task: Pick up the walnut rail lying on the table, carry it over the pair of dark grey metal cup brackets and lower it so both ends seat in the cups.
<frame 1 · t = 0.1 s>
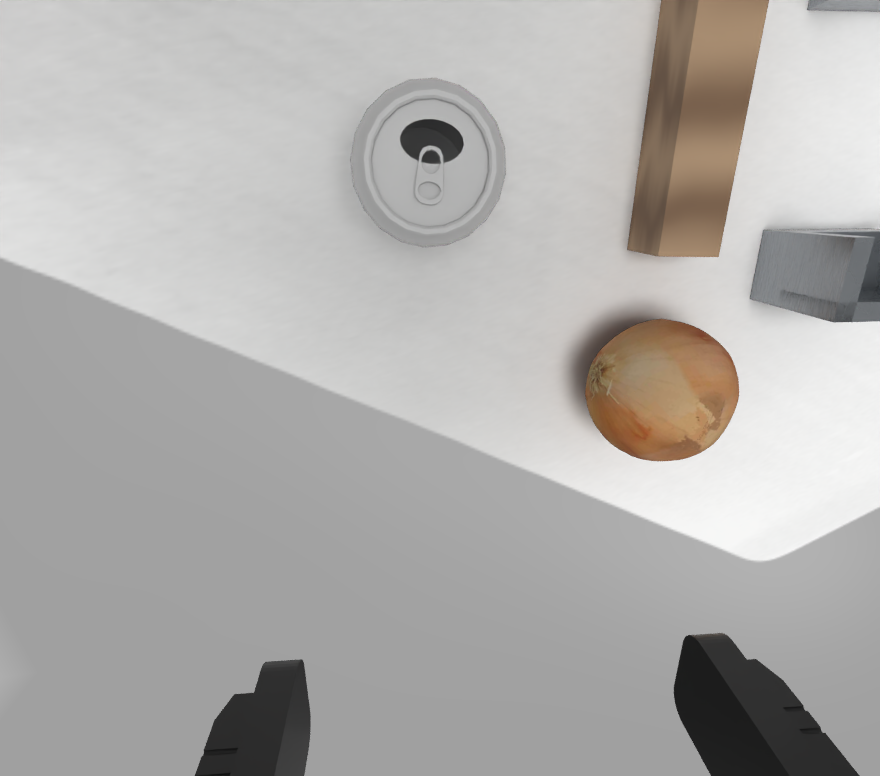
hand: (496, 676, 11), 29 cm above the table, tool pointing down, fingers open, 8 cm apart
cup brackets: (842, 127, 35), on the table
can: (420, 176, 35), on the table
onion: (627, 368, 40), on the table
rail: (673, 110, 34), on the table
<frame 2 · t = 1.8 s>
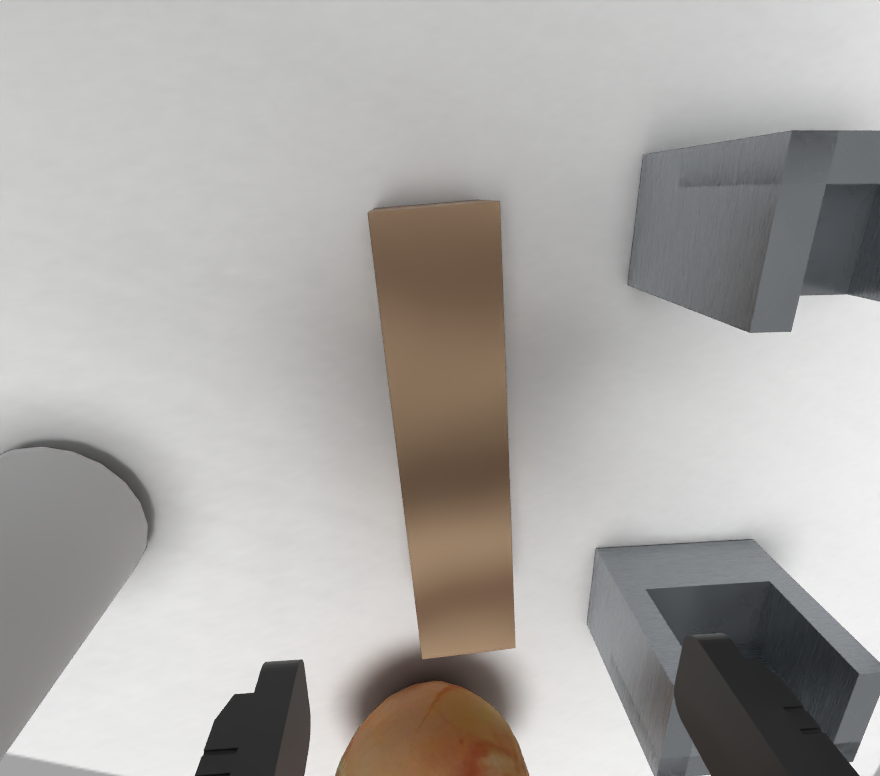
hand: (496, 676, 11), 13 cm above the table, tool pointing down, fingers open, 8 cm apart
cup brackets: (697, 426, 24), on the table
can: (72, 509, 23), on the table
onion: (427, 702, 30), on the table
rail: (443, 413, 23), on the table
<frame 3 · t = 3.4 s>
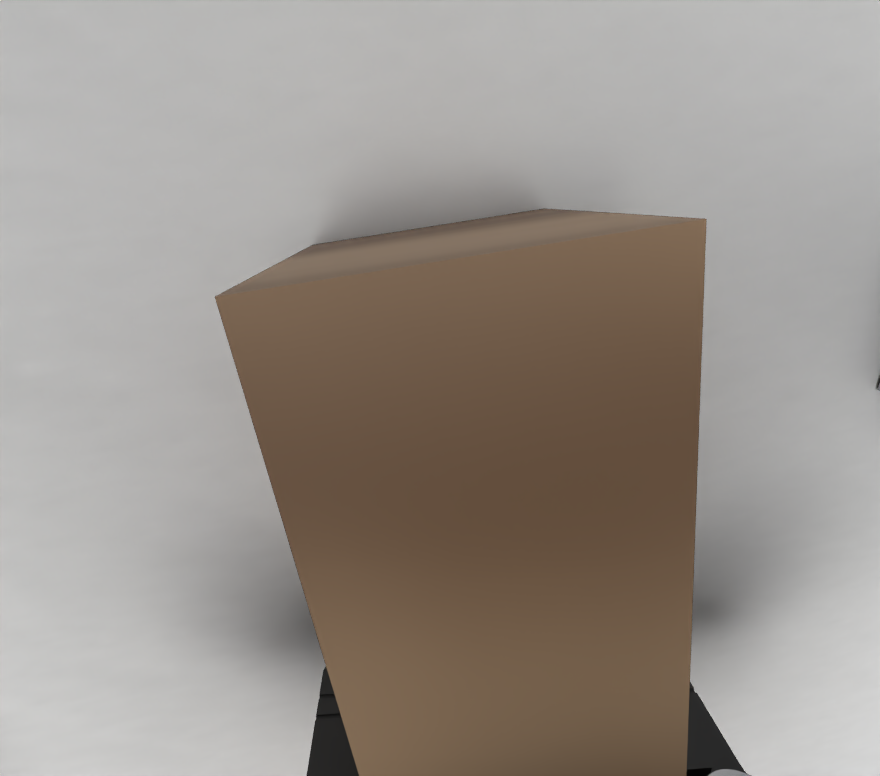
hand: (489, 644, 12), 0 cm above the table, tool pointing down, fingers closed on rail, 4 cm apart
rail: (487, 627, 12), on the table, touching gripper
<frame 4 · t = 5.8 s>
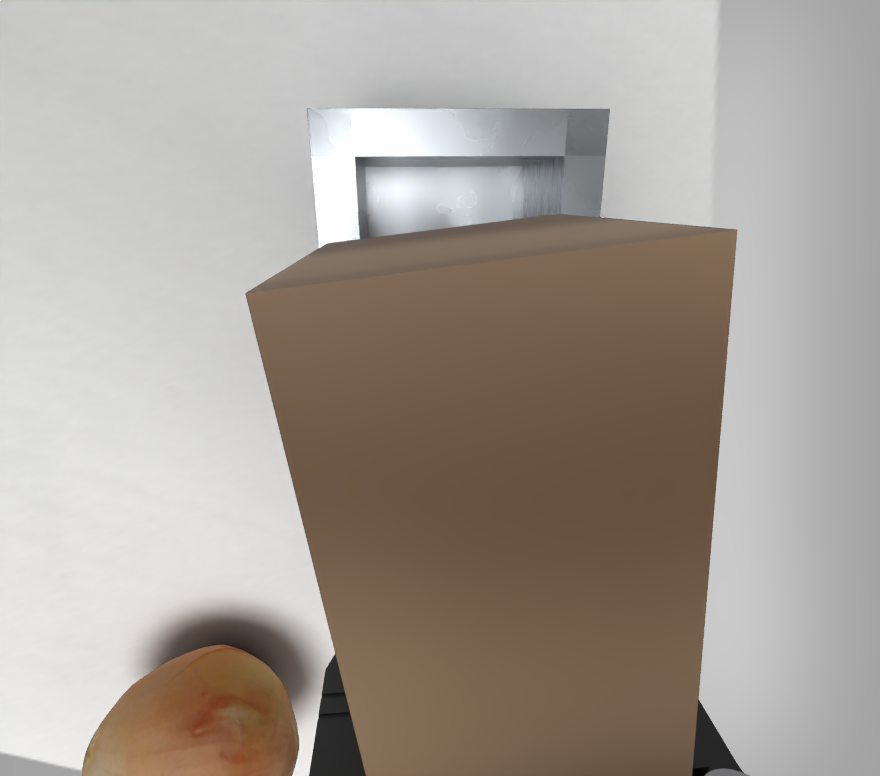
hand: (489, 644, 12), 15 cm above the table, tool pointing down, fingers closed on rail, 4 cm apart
cup brackets: (441, 398, 26), on the table
onion: (227, 668, 31), on the table
rail: (487, 630, 12), point 15 cm above the table, touching gripper
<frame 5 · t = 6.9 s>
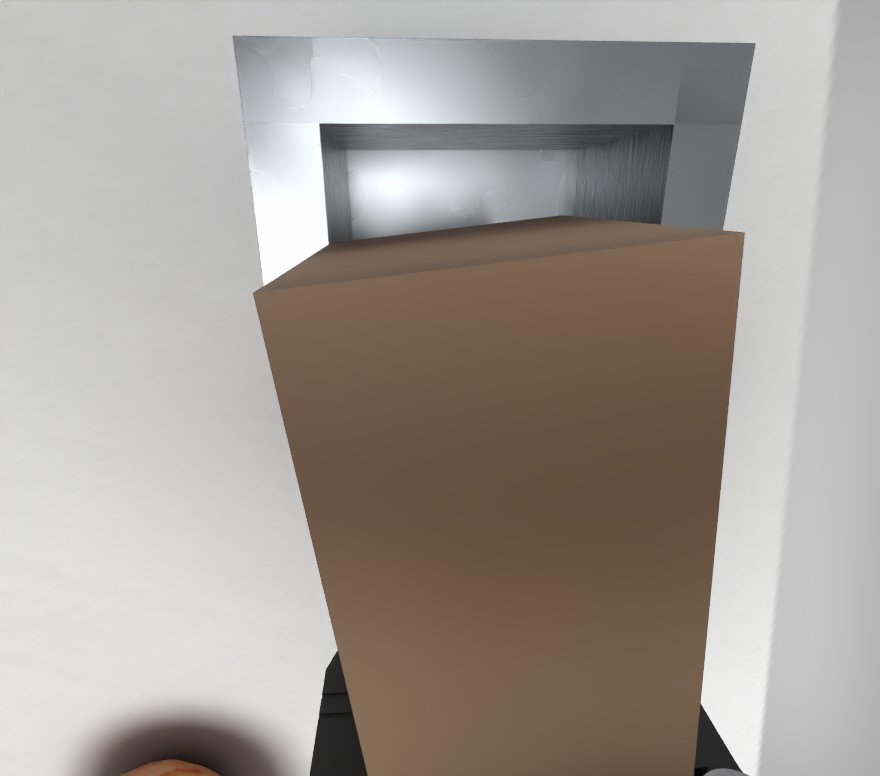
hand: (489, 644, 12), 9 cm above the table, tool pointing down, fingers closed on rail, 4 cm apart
cup brackets: (452, 457, 20), on the table
rail: (487, 631, 12), point 8 cm above the table, touching gripper
when the fingers open (5 cm above the table, at t = 8.0 s): rail drops 1 cm, resting on cup brackets.
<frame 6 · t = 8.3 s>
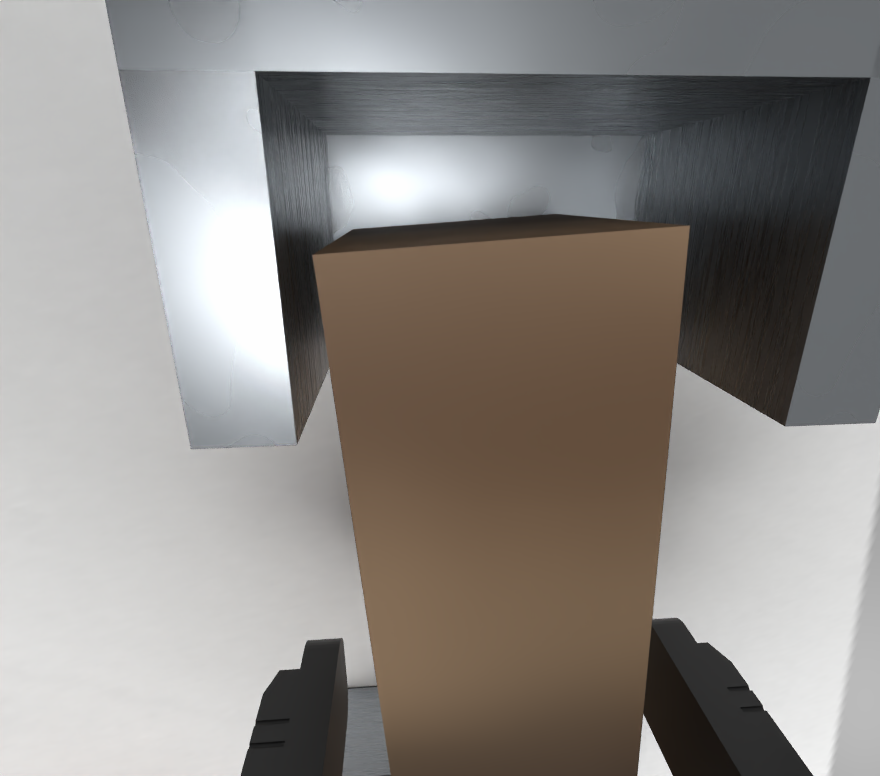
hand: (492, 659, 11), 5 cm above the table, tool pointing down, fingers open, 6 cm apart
cup brackets: (464, 520, 16), on the table
rail: (475, 589, 13), point 3 cm above the table, touching cup brackets
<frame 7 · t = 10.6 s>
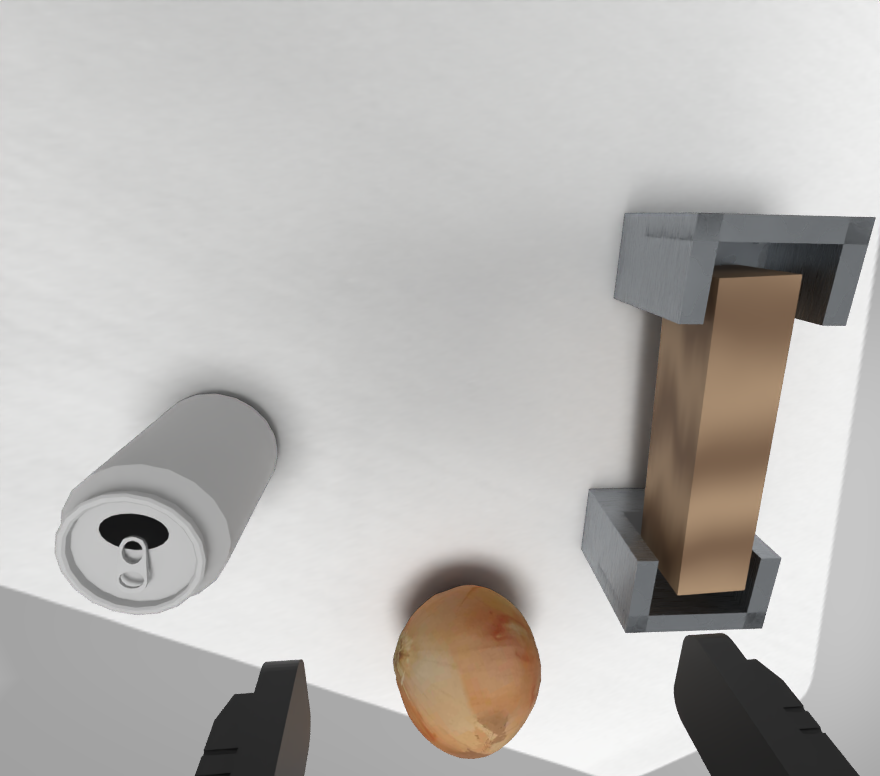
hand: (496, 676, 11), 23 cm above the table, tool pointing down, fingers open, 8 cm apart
cup brackets: (662, 399, 34), on the table
can: (223, 442, 34), on the table
onion: (459, 608, 39), on the table
rail: (684, 416, 32), point 3 cm above the table, touching cup brackets
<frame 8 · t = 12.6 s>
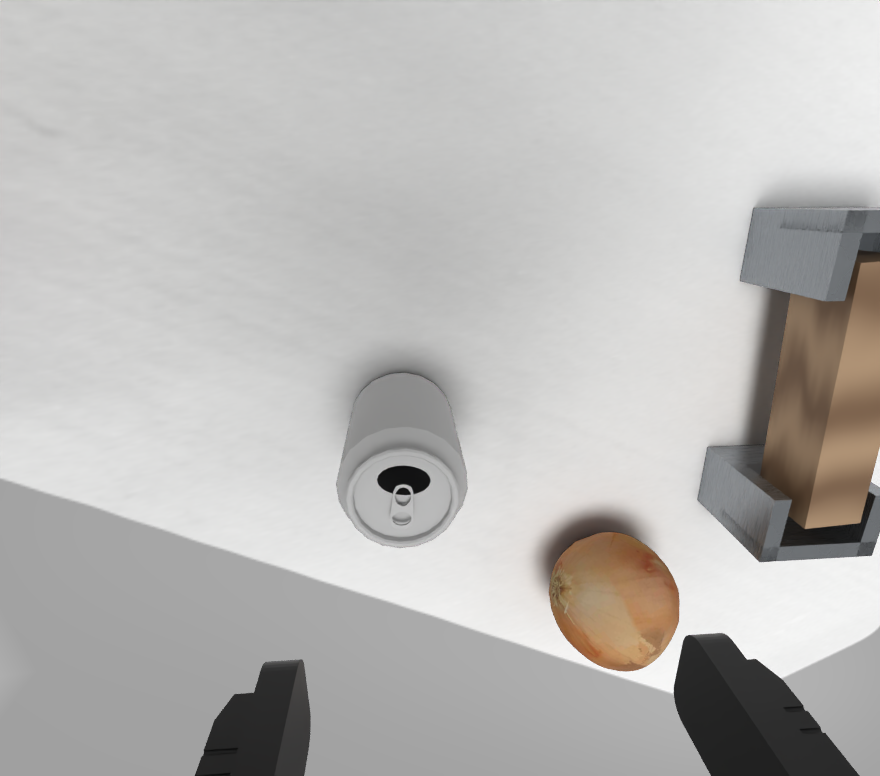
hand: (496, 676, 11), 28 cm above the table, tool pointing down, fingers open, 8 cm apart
cup brackets: (774, 367, 40), on the table
can: (401, 414, 39), on the table
onion: (589, 555, 45), on the table
rail: (802, 379, 37), point 3 cm above the table, touching cup brackets
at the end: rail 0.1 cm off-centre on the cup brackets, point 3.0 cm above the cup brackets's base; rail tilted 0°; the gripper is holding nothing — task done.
